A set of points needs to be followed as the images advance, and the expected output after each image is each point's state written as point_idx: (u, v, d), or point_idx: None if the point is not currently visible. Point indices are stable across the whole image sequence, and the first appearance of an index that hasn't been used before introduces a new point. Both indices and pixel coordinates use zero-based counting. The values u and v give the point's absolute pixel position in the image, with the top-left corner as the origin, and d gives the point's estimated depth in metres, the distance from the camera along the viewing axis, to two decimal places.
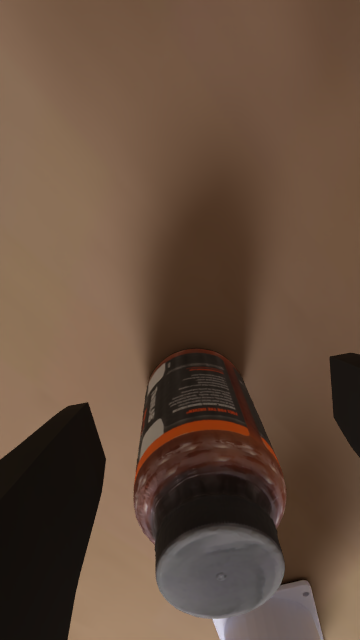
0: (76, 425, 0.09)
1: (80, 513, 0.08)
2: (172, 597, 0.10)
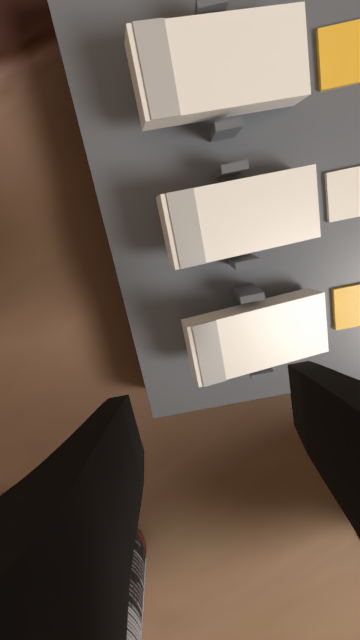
0: (122, 417, 0.09)
1: (129, 505, 0.08)
2: None
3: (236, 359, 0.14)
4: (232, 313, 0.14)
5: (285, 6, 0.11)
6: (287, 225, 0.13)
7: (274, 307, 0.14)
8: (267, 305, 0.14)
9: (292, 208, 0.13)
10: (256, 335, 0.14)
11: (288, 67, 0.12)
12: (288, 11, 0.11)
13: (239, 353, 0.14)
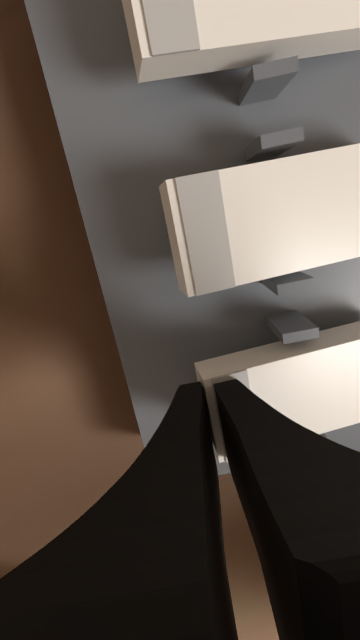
0: (203, 401, 0.08)
1: (215, 489, 0.08)
2: None
3: None
4: (271, 357, 0.09)
5: None
6: (357, 229, 0.09)
7: (333, 350, 0.09)
8: (321, 346, 0.09)
9: None
10: (305, 389, 0.10)
11: None
12: None
13: None
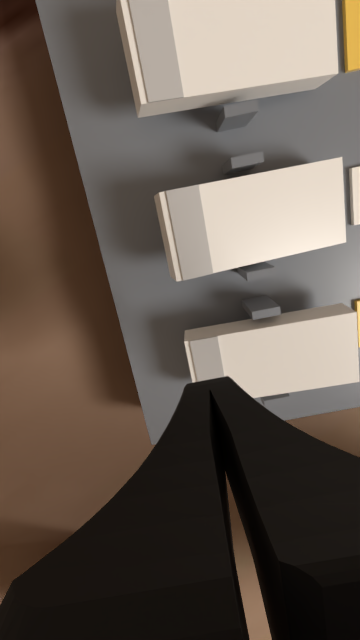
0: (211, 400, 0.08)
1: (224, 487, 0.08)
2: None
3: (241, 381, 0.12)
4: (239, 329, 0.12)
5: None
6: (308, 229, 0.11)
7: (290, 326, 0.12)
8: (282, 323, 0.12)
9: (314, 209, 0.11)
10: (266, 356, 0.12)
11: (313, 40, 0.10)
12: None
13: (245, 375, 0.12)
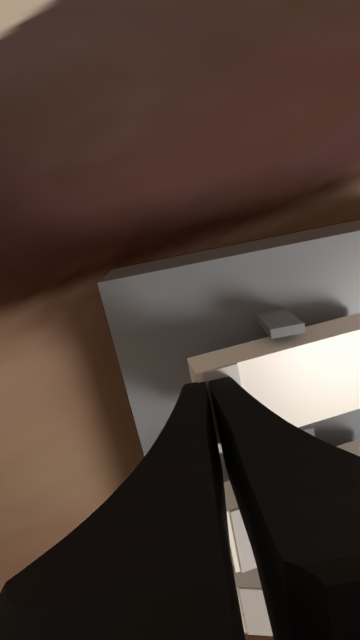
0: (208, 400, 0.08)
1: (221, 488, 0.08)
2: None
3: None
4: None
5: None
6: None
7: None
8: None
9: None
10: None
11: None
12: None
13: None
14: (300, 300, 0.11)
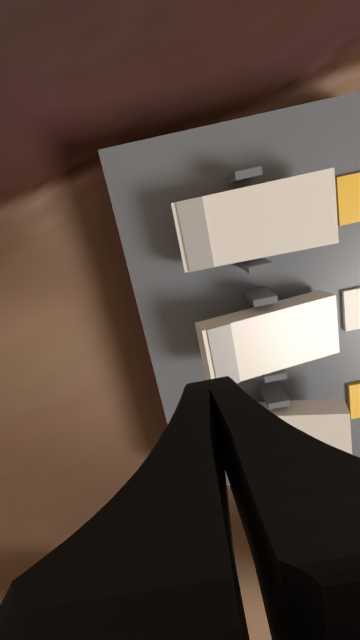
0: (211, 400, 0.08)
1: (224, 488, 0.08)
2: None
3: None
4: None
5: (314, 174, 0.12)
6: (310, 345, 0.15)
7: (295, 417, 0.15)
8: (289, 413, 0.15)
9: (315, 331, 0.15)
10: None
11: (316, 222, 0.13)
12: (317, 177, 0.12)
13: None
14: (263, 165, 0.14)
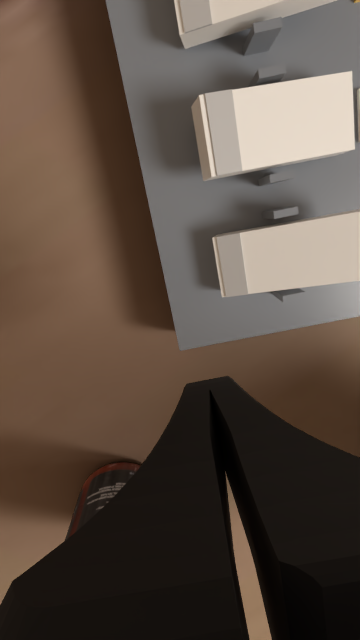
0: (211, 400, 0.08)
1: (224, 487, 0.08)
2: None
3: (259, 275, 0.15)
4: (260, 228, 0.14)
5: None
6: (322, 135, 0.13)
7: (303, 224, 0.13)
8: (297, 222, 0.14)
9: (327, 117, 0.13)
10: (282, 252, 0.14)
11: None
12: None
13: (263, 269, 0.14)
14: None
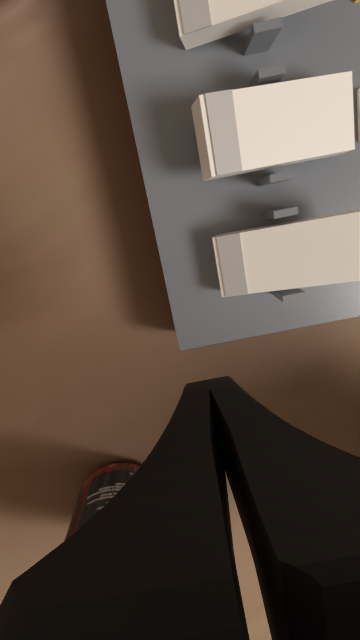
0: (211, 400, 0.08)
1: (224, 487, 0.08)
2: None
3: (259, 274, 0.15)
4: (260, 228, 0.14)
5: None
6: (322, 135, 0.13)
7: (303, 224, 0.13)
8: (297, 222, 0.14)
9: (327, 117, 0.13)
10: (282, 252, 0.14)
11: None
12: None
13: (263, 269, 0.14)
14: None
